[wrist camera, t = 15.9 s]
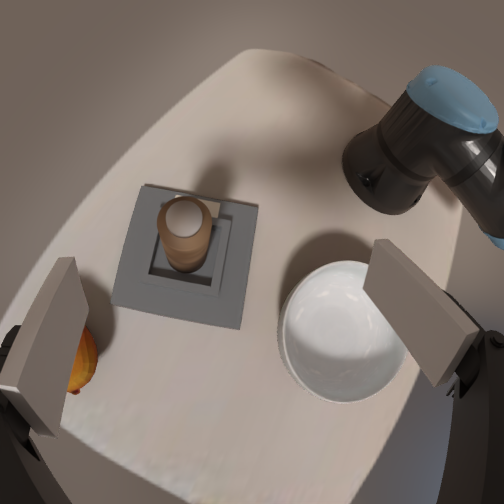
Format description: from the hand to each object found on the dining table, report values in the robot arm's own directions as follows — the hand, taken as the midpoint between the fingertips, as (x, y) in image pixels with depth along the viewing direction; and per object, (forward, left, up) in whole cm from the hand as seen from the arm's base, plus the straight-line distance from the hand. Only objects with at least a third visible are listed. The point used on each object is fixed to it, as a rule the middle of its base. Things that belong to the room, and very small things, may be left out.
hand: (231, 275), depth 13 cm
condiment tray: (+4, -7, -26) cm, 27 cm away
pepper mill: (+4, -7, -25) cm, 26 cm away
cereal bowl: (-16, 0, -26) cm, 30 cm away
